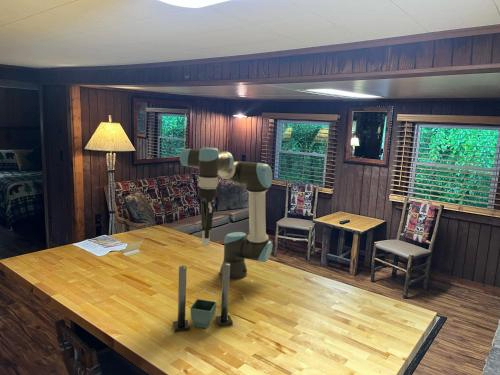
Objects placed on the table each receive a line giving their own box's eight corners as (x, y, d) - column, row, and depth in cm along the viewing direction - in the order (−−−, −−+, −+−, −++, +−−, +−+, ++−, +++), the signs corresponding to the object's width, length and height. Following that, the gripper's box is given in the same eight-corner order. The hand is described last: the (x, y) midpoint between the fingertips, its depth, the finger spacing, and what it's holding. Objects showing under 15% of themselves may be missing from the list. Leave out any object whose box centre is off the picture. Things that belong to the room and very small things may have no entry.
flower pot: (209, 332, 156) (210, 311, 155) (189, 328, 158) (189, 308, 156) (216, 321, 165) (217, 301, 163) (196, 318, 166) (197, 298, 165)
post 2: (228, 318, 168) (231, 260, 164) (232, 325, 162) (235, 266, 158) (215, 319, 166) (217, 261, 162) (218, 326, 160) (221, 267, 156)
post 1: (187, 323, 162) (188, 264, 158) (189, 330, 156) (191, 269, 152) (172, 324, 160) (174, 265, 156) (174, 332, 154) (176, 270, 150)
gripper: (195, 184, 156) (193, 240, 160) (201, 190, 144) (199, 251, 148) (213, 184, 159) (211, 239, 163) (221, 190, 147) (218, 250, 151)
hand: (205, 245), depth 155 cm, fingers closed
